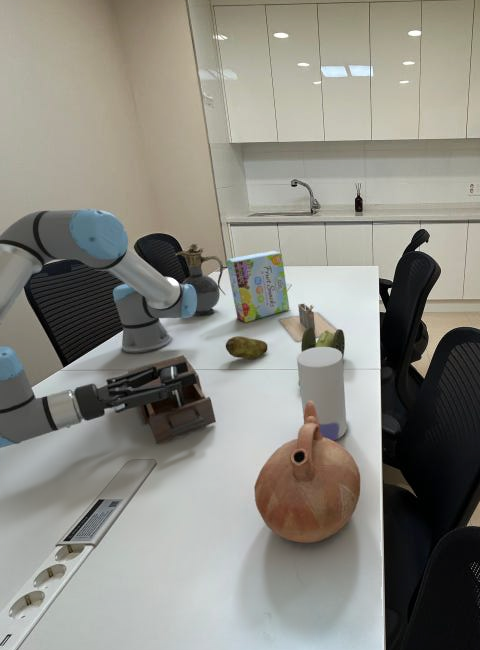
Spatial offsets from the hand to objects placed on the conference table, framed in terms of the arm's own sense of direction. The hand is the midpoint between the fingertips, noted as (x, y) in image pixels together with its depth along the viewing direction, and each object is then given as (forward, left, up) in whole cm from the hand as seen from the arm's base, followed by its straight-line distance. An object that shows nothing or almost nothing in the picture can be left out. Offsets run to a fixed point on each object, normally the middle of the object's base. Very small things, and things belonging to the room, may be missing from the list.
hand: (190, 371), depth 95 cm
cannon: (-1, +36, -13) cm, 38 cm away
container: (+26, +22, -13) cm, 36 cm away
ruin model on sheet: (-36, +51, -13) cm, 64 cm away
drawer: (+2, -5, -12) cm, 13 cm away
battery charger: (0, -5, -10) cm, 11 cm away
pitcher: (-80, +25, -13) cm, 85 cm away
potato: (-24, +22, -13) cm, 35 cm away
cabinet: (-13, -5, -13) cm, 19 cm away
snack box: (-61, +43, -13) cm, 76 cm away
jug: (+46, +7, -13) cm, 48 cm away
